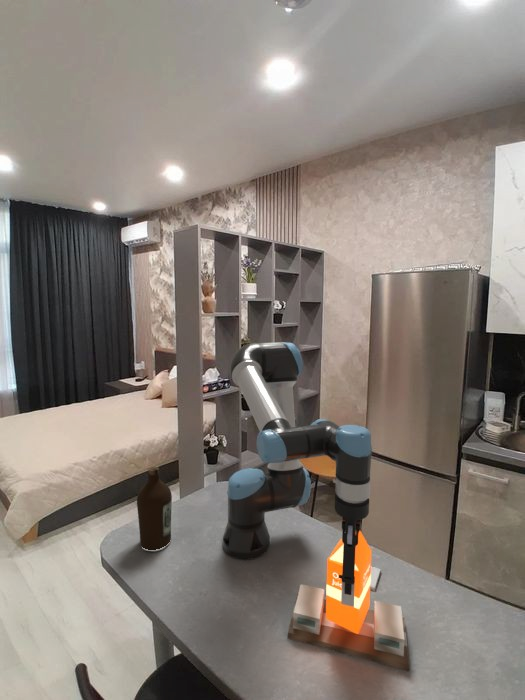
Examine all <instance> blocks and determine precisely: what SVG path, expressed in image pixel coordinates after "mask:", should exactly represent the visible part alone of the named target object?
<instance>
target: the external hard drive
mask: <svg viewBox="0 0 525 700" xmlns="http://www.w3.org/2000/svg"><path fill="white" fill-rule="evenodd" d="M381 573H382V570H381V568H378V567H375V566H372V565H371V583H370V591H374V592H376V588H377V585H378V582H379V578H380V575H381Z"/></svg>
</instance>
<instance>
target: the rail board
mask: <svg viewBox="0 0 525 700" xmlns="http://www.w3.org/2000/svg"><path fill="white" fill-rule="evenodd" d="M295 598H296V599H295V602H294V607H293V610H292V615H291V619H290V623H289V625H288V631H287V639H288V640H292V641H294V642H295V641H296V642H300V643H303V644H307V645H311V646H315V647H318V648H322V649H326V650H330V651H332V652H333V651H334V652H337V653H340V654H345V655H347V656H352V657H356V658H359V659H363V660H366V661H367V660H368V661H370V662H375V663H379V664H382V665H385V666H389V667H393V668H397V669H401V670H405V671H410V658H409V657H410V656H409V650H408V641H407V631H406V624H405V622H406V621H405V617H403V613H402V606H401V605H396V604H392V603H386V602H382V601H377V600H374V607H373V610H372V609H368V611H367V614H366V616H365V619H364V621H363V623H362V626H361V628H360V631H359V633H358V634H356V633H354V632H352V631H350V630H348V629H346V628H344V627H342V626H340V625H338V624H336V623H334V622H332V621H330V620H328V619H326V599H325V589H323V588H319V587H316V586H315V587H314V586H311V585H305V584H300V586H299V589H298V593H297V595H296V597H295Z"/></svg>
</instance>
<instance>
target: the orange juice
mask: <svg viewBox="0 0 525 700" xmlns="http://www.w3.org/2000/svg"><path fill="white" fill-rule="evenodd" d="M343 547H344V543H343V542H342V538H340V539H339V541H338V542H337V543H336V545H335V547H334V549H333V550H332V552H331V553H330V555H329V556H328V557H327V559H326V560H327V562H326V563H327V564H326V565H327V566H326V590H325V591H326V592H325V593H326V594H325V595H326V599H325V600H326V619H328V620H330V621H332V622H334V623H336V624H338V625H340V626H342V627H344V628H346V629H348V630H350V631H352V632H354V633H356V634H358V633H359V631H360V628H361V626H362V623H363V621H364V619H365V616H366V614H367V611H368V610H370V603H371V602H370V598H371V596H370V595H371V590H370V583H371V566H372V552H373V550H372V549H371V548H370V546H369V544H368V542H367V540H366V538H365V537H364V535H363V533H362V532H361V530H360V531H359V533H358V545H356V548H355V572H354V576H355V592H354V607H352V606H347V605H343V604H341V594H342V580H341V578H339V575H342V570H343Z"/></svg>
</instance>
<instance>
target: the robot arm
mask: <svg viewBox="0 0 525 700" xmlns="http://www.w3.org/2000/svg"><path fill="white" fill-rule="evenodd" d="M303 365H304V364H303V358H302V354H301V351H300V349H299V348H298V347H297V346H296V344H294V343H292V342H285V341H284V342H283V341H279V342H259V343H258V342H255V343H254V342H253V343H248V344H245V345H243V346H241V347H240V348H239V349H237V350H236V352H235V353H234V354H233V356H232V358H231V360H230V364H229V374H230V376H231V379H232V381H233V383H234V384H235V385H236V386H237V387H239V389H240V391H241V393H242V395H243V398H244V400H245V401H246V404H247V406H248V408H249V411H250V413H251V415H252V417H253V420H254V422H255V423H256V426H257V428H258V430H259V433H257V437H256V449H257V454H258V457H259V459H260V461H261V462H263V463H265V464H267V472H264V471H263V470H262V469H260V468H256V467H255V468H253V467H249V468H243V469H240V470H237V471H236V472H234V473H233V474H232V475H231V476H230V477H229V479H228V483H227V491H226V494H227V495H226V496H227V523H226V527H225V529H224V533H223V536H222V549H223V548H224V549H223V550H225V551H224V552H225V553H226V554H227V555H228V556H230V557H232V558H234V559H238V560H254V559H257V558H259V557H262V556H263V555H264V554H266V553H267V551H269V549H270V546H271V545H270V544H271V535H270V532H269V530H268V527H267V523H266V521H265V520H266V519H265V513H269V512H275V511H279V510H280V511H281V510H284V509H291V508H297V507H299V506H302V505H305V504H306V503H307V501H308V500H309V499H310V497H311V491H312V482H311V477H310V474H309V473H310V472H309V471H308V469H306V467H303V463H302V462H301V461H300V460H302V459H303V460H304V459H312V458H318V457H324V456H327V457H328V458H330V459H331V460H333V461H334V462H335V478H333V479H332V483H333V484H335V485H334V486H335V487H334V488H335V490H334V491H335V493H334V510H335V512H336V514H337V515H339V516H340V517H342V520H341V521H342V522H341V530H342V534H341V536H342V537H341V539H342V542H343V543H344V547H343V570H342V575H339V578H341V580H342V594H341V604H343V605H347V606H352V607H354V592H355V576H354V572H355V548H356V545H358V533H359V531H361V520H363V519H366V518H367V517H368V516H369V513H370V496H371V465H372V451H373V447H372V446H373V445H372V433H371V431H370V430H369V428H366V427H364V426H360V425H356V424H344V425H341V426H340V425H338V424H337V423H336V422H333V421H331V420H328V419H326V418H325V419H324V418H319V419H317V420H314V422H312V423H311V424H310V425H304V426H296V416H295V403H294V401H295V400H294V388H293V387H294V386H295V385H296V383H297V382H298V381H297V380H298V379H297V378H298V376H301V374H302V373H303Z"/></svg>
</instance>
